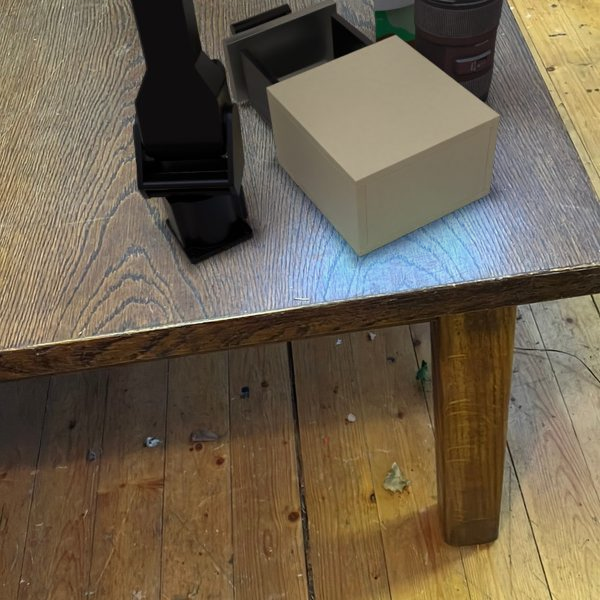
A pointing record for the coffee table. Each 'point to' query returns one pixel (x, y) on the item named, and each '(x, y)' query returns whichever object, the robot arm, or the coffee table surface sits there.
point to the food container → (395, 20)
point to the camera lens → (459, 39)
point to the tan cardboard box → (383, 141)
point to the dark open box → (284, 48)
